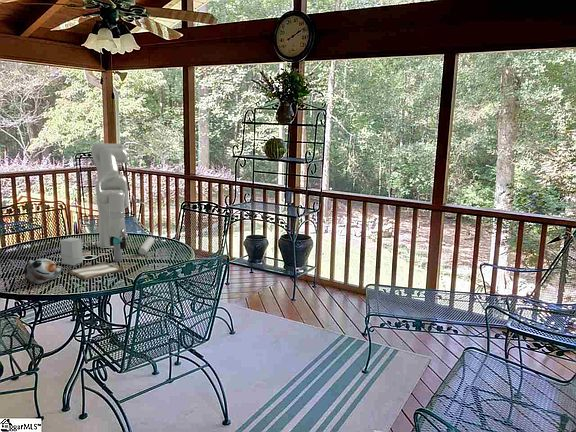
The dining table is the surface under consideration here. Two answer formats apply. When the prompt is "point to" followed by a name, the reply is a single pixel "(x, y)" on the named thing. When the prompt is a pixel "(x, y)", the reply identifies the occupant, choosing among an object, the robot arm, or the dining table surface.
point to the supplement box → (71, 251)
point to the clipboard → (95, 270)
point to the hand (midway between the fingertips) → (118, 247)
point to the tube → (146, 245)
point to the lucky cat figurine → (41, 271)
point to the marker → (117, 250)
